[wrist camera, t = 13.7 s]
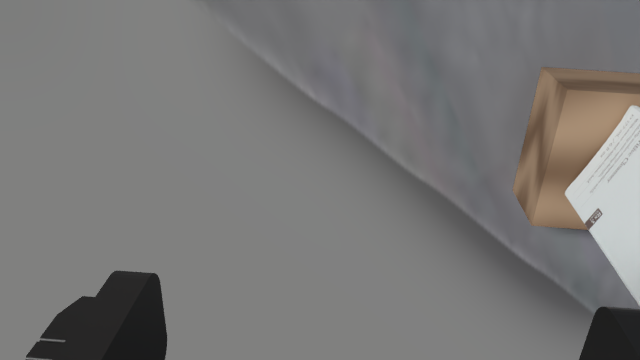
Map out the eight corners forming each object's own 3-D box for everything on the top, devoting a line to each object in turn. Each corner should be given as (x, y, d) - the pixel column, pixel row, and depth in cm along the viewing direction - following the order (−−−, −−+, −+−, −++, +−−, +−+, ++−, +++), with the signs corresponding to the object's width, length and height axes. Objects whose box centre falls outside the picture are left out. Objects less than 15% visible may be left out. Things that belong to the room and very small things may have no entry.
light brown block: (541, 67, 43) (567, 89, 37) (684, 76, 42) (730, 100, 37) (512, 189, 48) (531, 225, 42) (639, 199, 47) (675, 236, 42)
